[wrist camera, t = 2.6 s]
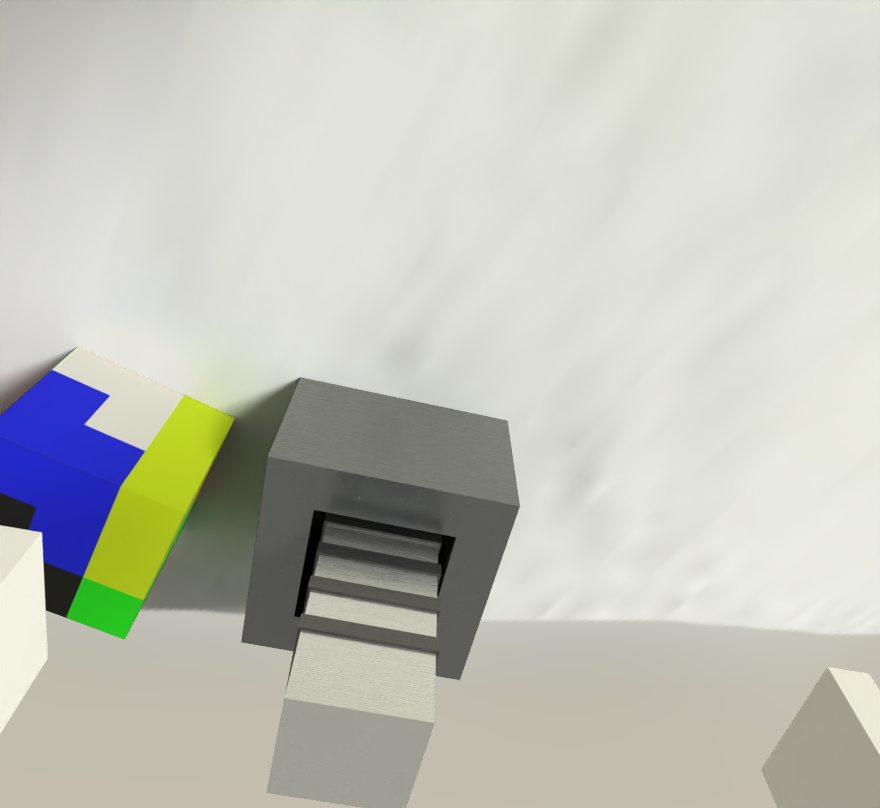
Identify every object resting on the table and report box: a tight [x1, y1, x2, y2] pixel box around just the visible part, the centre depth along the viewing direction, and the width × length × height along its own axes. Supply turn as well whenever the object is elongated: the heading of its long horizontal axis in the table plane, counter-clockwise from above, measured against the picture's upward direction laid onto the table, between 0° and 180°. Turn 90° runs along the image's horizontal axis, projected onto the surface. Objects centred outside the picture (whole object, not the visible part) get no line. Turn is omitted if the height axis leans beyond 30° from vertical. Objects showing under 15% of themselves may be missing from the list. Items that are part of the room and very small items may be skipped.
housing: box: [242, 378, 520, 680], centre depth 42 cm, size 13×13×12 cm
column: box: [267, 512, 442, 808], centre depth 39 cm, size 6×6×20 cm
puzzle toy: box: [0, 347, 235, 639], centre depth 42 cm, size 10×10×10 cm
